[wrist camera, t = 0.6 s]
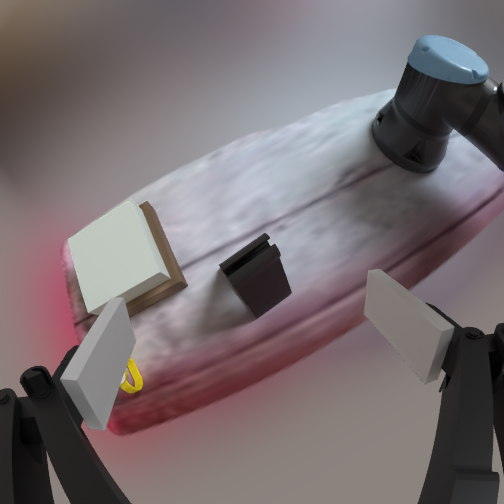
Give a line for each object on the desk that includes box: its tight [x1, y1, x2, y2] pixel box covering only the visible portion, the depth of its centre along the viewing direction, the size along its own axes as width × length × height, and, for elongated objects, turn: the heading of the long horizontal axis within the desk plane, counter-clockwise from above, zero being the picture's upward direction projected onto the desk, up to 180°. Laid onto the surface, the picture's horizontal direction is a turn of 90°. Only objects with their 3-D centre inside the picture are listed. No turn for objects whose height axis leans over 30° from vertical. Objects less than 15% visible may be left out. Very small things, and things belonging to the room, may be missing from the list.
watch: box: [120, 357, 143, 393], centre depth 36 cm, size 6×3×6 cm, turn 30°
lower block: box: [98, 201, 188, 317], centre depth 42 cm, size 14×14×4 cm
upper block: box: [68, 199, 171, 315], centre depth 38 cm, size 12×12×4 cm
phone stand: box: [219, 233, 292, 318], centre depth 36 cm, size 9×6×12 cm, turn 35°
